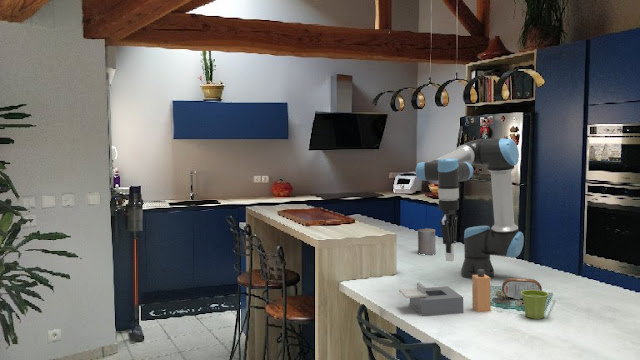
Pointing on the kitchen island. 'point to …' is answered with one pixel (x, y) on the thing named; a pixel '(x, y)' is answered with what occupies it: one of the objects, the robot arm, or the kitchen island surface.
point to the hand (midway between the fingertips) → (449, 260)
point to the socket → (438, 302)
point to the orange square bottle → (481, 292)
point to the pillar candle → (426, 241)
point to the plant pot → (534, 303)
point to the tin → (519, 286)
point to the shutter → (414, 291)
